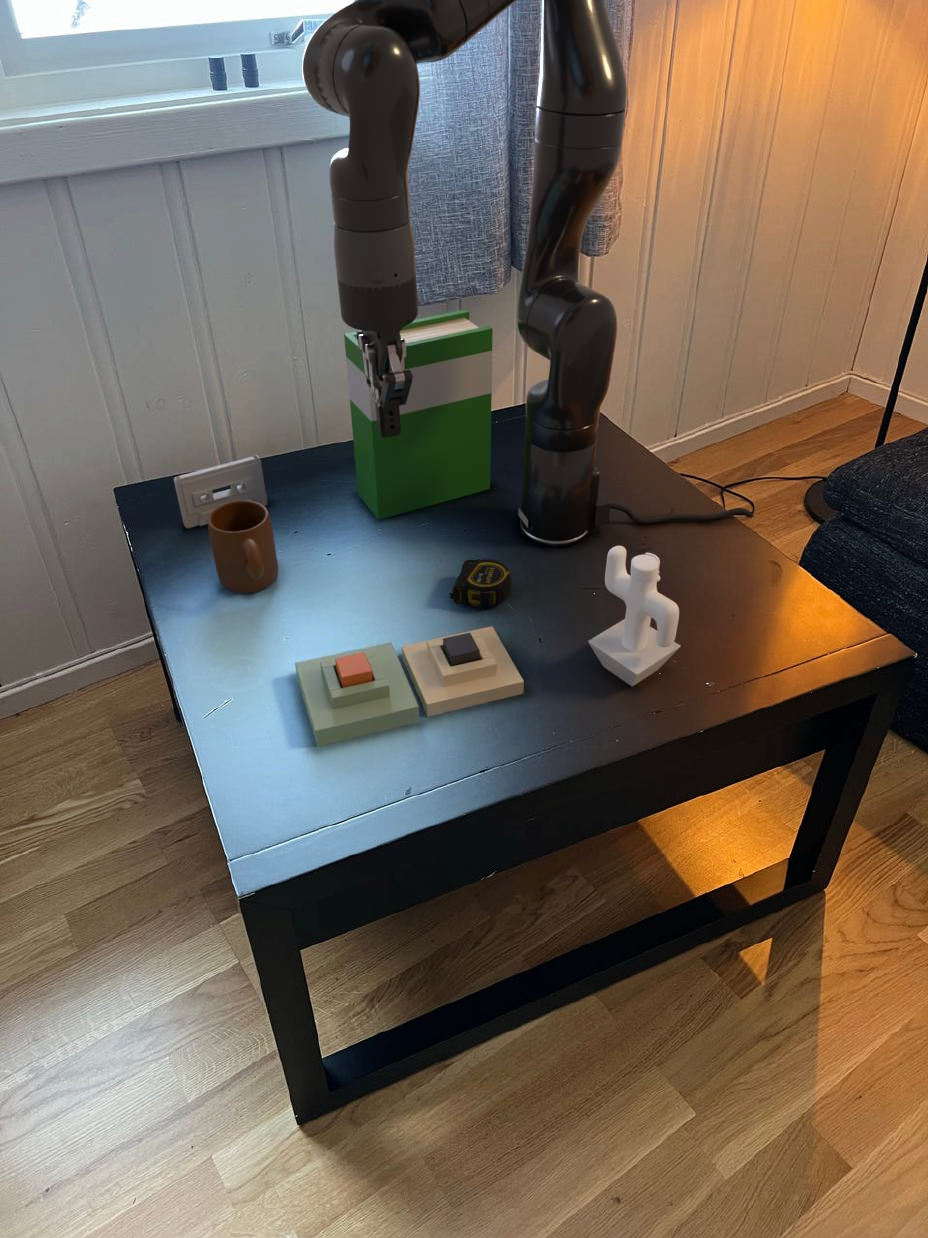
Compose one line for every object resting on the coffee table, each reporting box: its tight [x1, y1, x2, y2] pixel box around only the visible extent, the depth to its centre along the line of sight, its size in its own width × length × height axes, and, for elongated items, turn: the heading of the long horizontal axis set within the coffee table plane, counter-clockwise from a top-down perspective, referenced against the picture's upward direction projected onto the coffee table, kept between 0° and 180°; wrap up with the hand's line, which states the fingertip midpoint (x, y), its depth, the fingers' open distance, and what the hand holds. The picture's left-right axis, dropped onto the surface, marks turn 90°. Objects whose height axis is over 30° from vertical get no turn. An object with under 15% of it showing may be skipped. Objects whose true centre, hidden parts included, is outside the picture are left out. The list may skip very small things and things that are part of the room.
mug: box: [207, 500, 279, 595], centre depth 114 cm, size 12×8×9 cm, turn 24°
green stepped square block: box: [294, 641, 420, 748], centre depth 100 cm, size 11×11×4 cm
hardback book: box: [343, 309, 493, 521], centre depth 127 cm, size 18×7×24 cm, turn 118°
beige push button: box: [400, 625, 525, 717], centre depth 103 cm, size 11×10×4 cm
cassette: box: [173, 455, 268, 529], centre depth 128 cm, size 12×2×8 cm, turn 121°
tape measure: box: [448, 558, 513, 608], centre depth 114 cm, size 7×7×4 cm
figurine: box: [587, 545, 682, 687], centre depth 101 cm, size 7×9×15 cm
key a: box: [443, 633, 480, 666], centre depth 102 cm, size 3×3×2 cm
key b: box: [335, 652, 372, 688], centre depth 99 cm, size 3×3×2 cm
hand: (389, 433), depth 100 cm, fingers closed
